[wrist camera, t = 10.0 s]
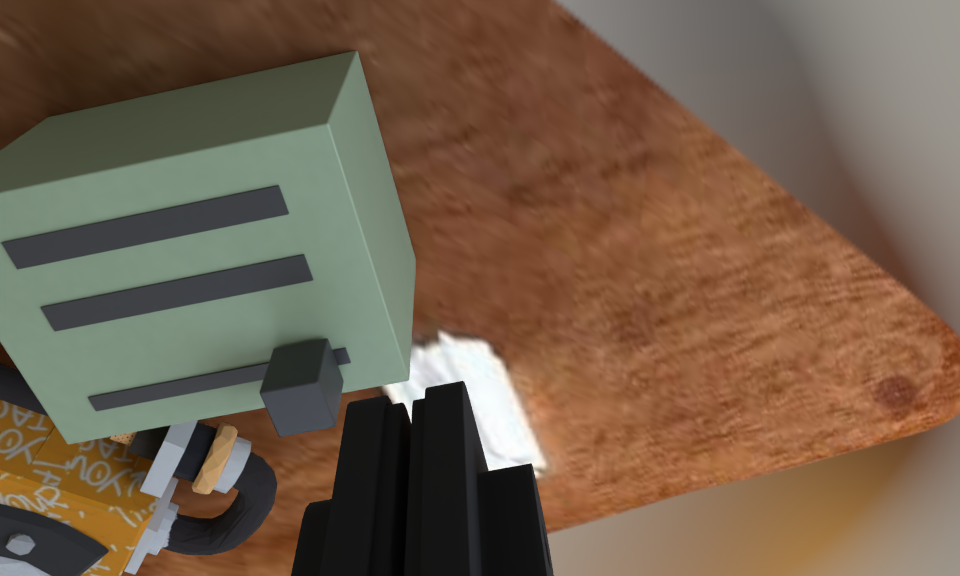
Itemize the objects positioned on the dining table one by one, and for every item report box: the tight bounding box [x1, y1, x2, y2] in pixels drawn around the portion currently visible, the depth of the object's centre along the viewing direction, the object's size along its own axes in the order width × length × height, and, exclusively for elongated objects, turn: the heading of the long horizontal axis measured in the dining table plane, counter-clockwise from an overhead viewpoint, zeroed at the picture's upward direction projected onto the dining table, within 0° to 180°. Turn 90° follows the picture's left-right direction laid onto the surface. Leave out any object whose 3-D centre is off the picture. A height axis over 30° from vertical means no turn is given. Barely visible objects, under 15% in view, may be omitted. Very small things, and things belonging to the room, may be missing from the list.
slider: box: [259, 338, 344, 437], centre depth 31 cm, size 2×2×3 cm
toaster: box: [0, 51, 416, 444], centre depth 35 cm, size 12×16×11 cm
